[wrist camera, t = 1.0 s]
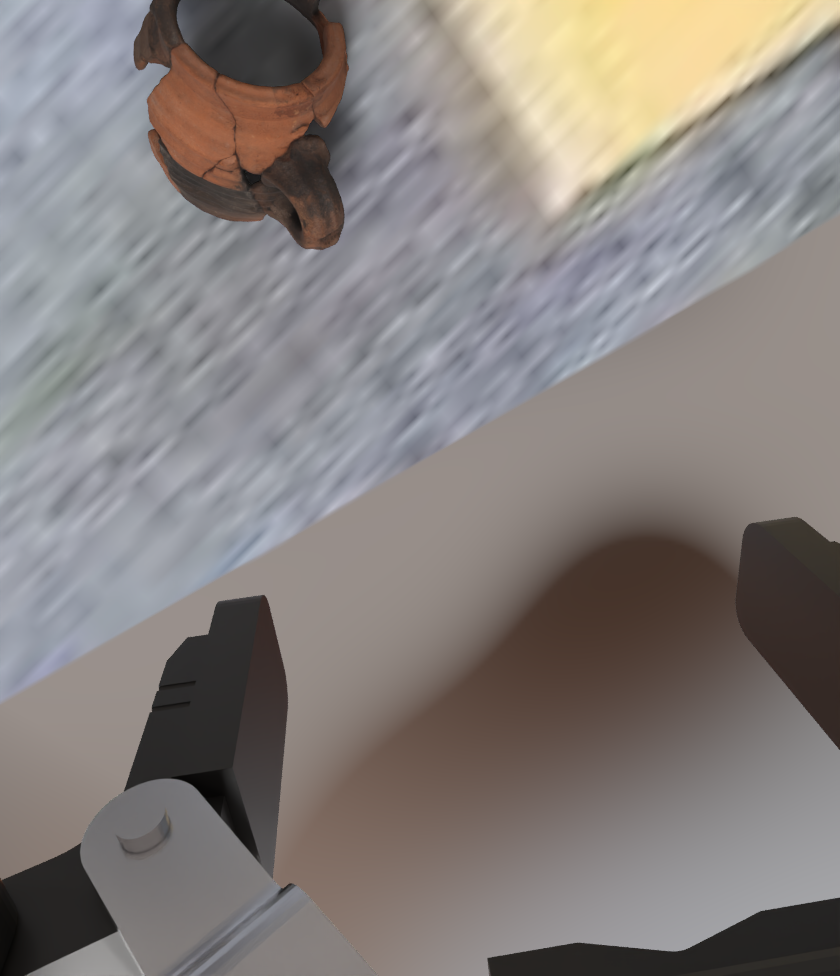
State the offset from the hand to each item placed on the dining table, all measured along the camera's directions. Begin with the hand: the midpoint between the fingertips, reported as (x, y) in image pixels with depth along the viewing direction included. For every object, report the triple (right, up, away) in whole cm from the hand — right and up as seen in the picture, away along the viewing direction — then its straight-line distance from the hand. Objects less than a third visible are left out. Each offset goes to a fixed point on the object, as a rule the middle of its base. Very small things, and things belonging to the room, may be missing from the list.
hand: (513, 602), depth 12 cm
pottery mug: (-9, +19, +22) cm, 30 cm away
